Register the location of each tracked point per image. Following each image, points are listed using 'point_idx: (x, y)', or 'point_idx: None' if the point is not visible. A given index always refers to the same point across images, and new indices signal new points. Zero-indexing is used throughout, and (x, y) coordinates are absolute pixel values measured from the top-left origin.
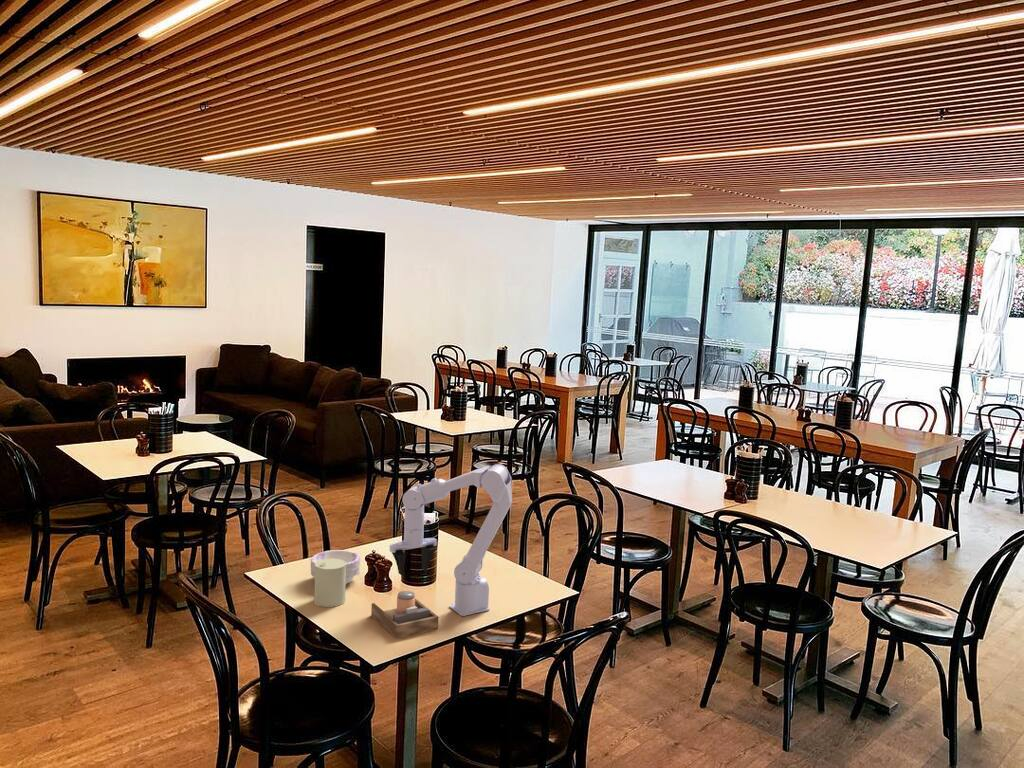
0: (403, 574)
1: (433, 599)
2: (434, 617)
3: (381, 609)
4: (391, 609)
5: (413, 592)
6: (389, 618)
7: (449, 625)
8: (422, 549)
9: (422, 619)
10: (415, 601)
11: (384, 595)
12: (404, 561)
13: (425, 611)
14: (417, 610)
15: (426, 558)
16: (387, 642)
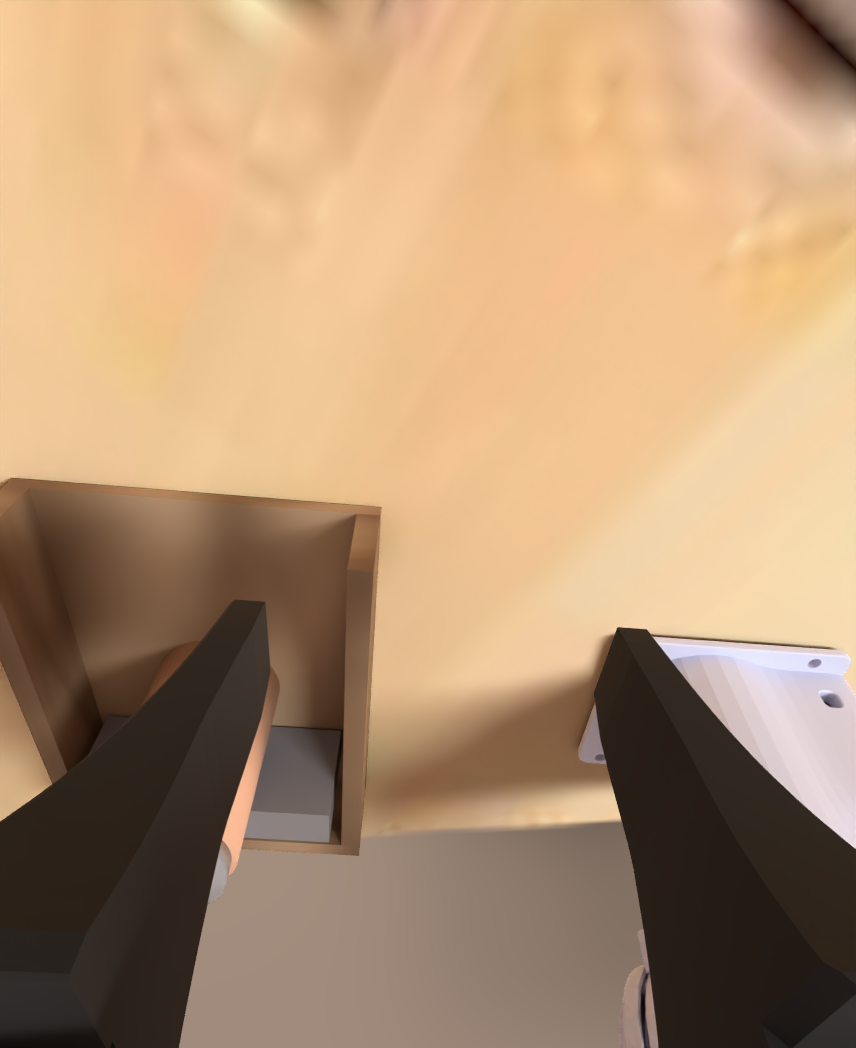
0: (267, 678)
1: (632, 477)
2: (332, 851)
3: (22, 660)
4: (191, 503)
5: (224, 879)
6: (53, 770)
7: (444, 783)
8: (747, 945)
9: (253, 844)
10: (345, 661)
11: (266, 110)
12: (205, 908)
13: (297, 836)
14: (248, 823)
15: (645, 891)
16: (49, 777)
